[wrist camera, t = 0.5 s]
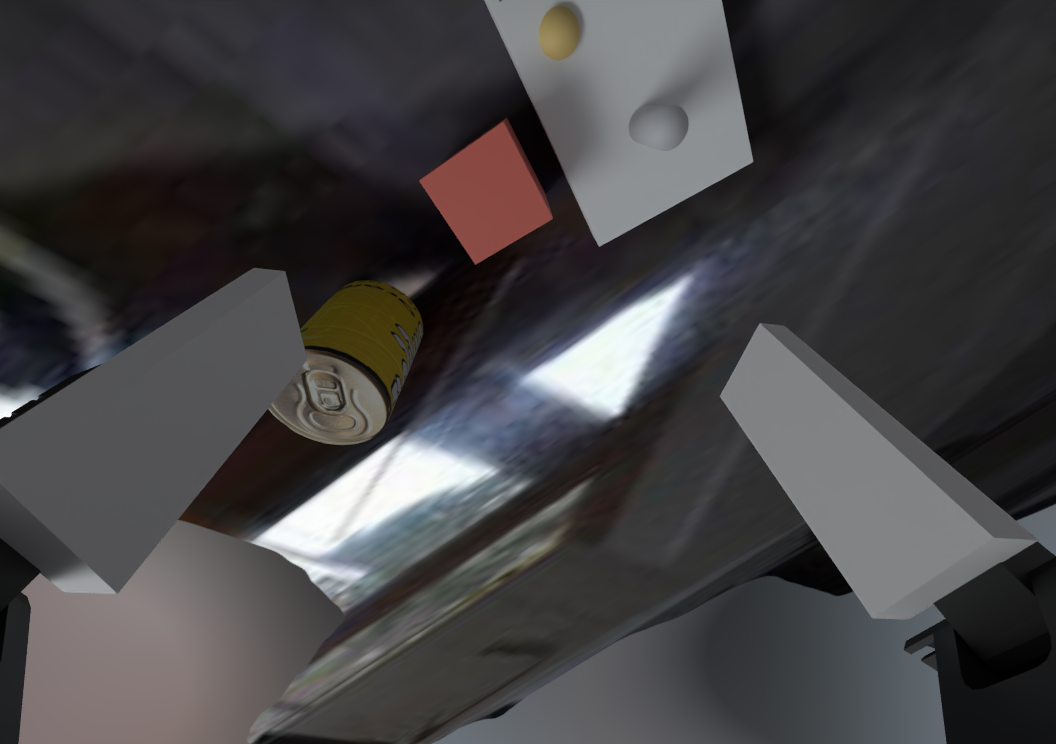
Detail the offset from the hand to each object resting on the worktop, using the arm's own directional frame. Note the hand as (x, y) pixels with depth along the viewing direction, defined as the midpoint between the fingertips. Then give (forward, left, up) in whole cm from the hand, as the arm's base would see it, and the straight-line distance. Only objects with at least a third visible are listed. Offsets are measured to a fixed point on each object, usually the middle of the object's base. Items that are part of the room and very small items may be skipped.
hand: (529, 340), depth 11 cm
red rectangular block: (-2, -2, -24) cm, 24 cm away
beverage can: (+3, -19, -24) cm, 31 cm away
